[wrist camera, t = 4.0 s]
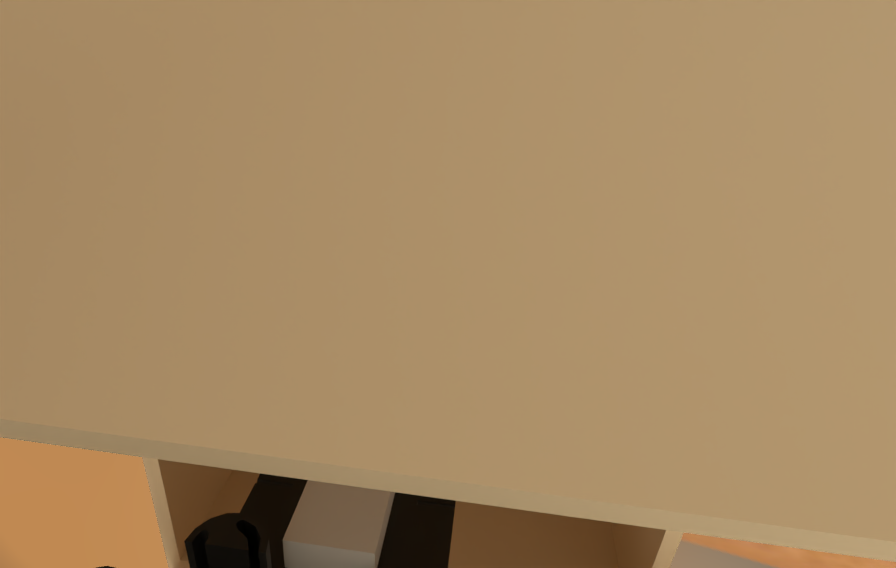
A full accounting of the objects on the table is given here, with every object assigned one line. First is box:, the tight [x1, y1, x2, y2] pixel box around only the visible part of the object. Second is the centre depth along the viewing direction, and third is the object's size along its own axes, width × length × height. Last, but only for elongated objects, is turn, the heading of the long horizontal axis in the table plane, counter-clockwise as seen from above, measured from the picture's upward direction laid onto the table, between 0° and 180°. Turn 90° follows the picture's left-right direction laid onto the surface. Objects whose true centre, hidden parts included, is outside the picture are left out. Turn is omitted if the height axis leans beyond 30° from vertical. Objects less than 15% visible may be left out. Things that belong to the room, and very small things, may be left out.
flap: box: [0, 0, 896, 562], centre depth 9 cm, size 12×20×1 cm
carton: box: [142, 457, 684, 568], centre depth 24 cm, size 24×20×14 cm
